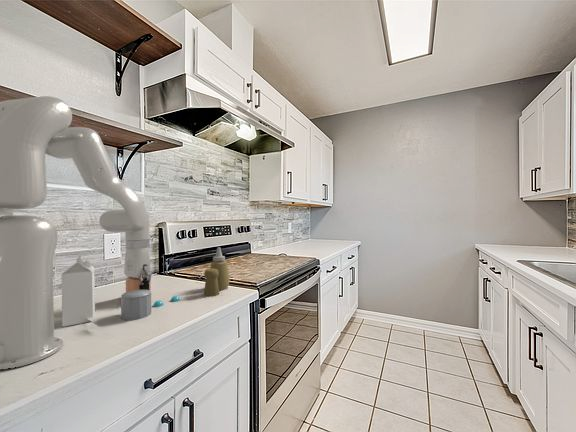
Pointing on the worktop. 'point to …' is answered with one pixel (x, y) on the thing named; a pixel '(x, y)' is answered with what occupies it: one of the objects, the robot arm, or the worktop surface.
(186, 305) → the worktop surface
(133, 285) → the terracotta cup
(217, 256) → the squeeze bottle
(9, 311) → the robot arm
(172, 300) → the marble
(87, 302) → the milk carton
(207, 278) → the olive pepper shaker
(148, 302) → the grey faceted cylinder
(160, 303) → the marble
